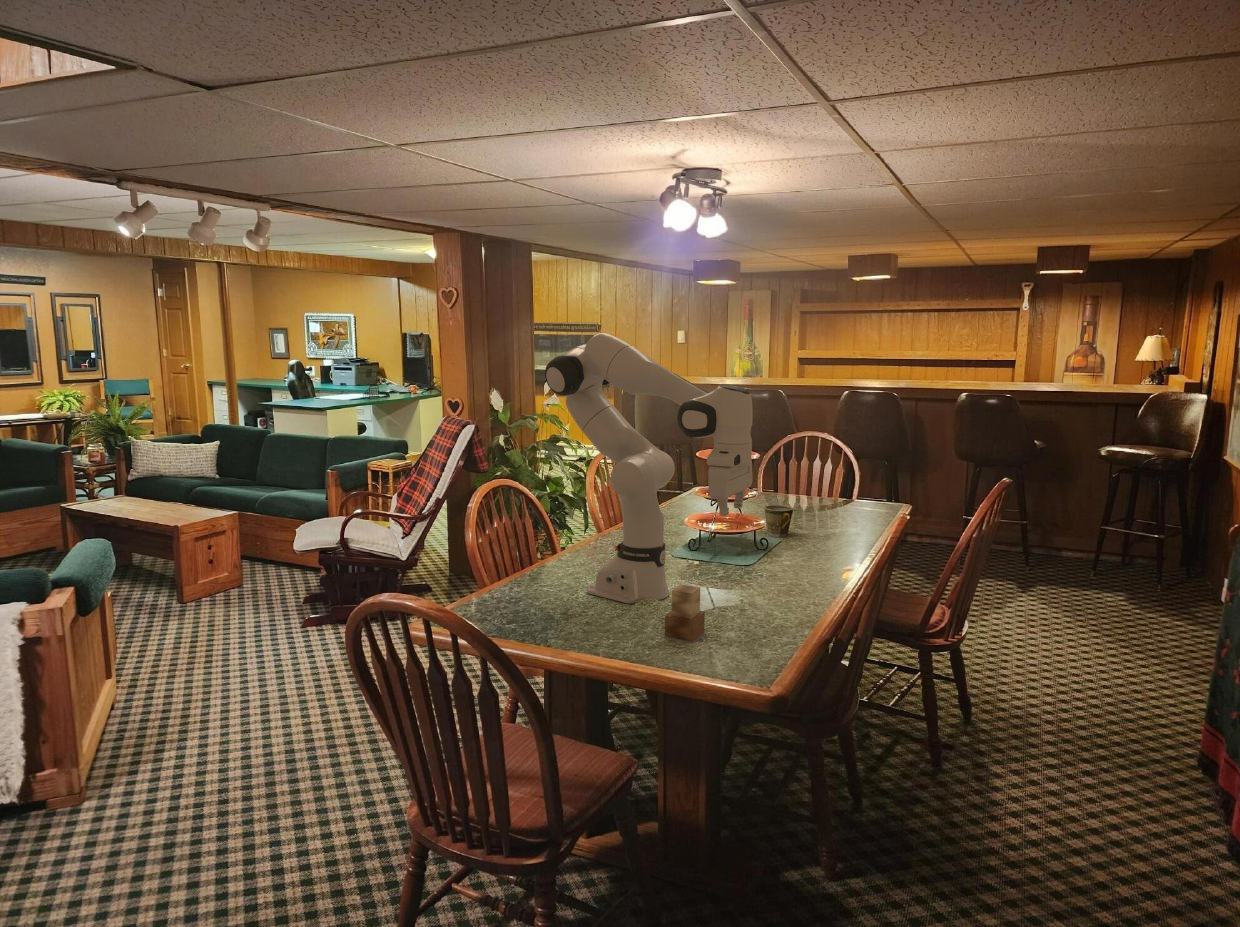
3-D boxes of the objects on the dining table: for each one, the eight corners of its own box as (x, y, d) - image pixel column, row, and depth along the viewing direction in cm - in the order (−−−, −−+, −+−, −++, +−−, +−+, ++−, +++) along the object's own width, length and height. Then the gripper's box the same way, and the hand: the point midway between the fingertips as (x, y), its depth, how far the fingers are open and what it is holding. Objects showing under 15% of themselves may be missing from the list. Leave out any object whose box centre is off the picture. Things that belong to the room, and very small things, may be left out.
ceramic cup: (758, 532, 289) (759, 505, 288) (783, 531, 292) (784, 504, 291) (776, 541, 277) (777, 513, 276) (801, 539, 280) (802, 511, 279)
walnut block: (664, 636, 184) (665, 615, 184) (676, 627, 190) (676, 606, 190) (693, 641, 181) (693, 620, 180) (704, 632, 187) (704, 611, 187)
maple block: (671, 615, 184) (671, 590, 183) (679, 608, 188) (680, 584, 187) (691, 618, 182) (692, 593, 181) (699, 612, 186) (700, 587, 185)
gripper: (735, 448, 199) (733, 502, 201) (703, 458, 182) (702, 518, 184) (759, 449, 196) (758, 505, 199) (730, 460, 179) (728, 521, 181)
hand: (731, 511), depth 191 cm, fingers open, 8 cm apart
